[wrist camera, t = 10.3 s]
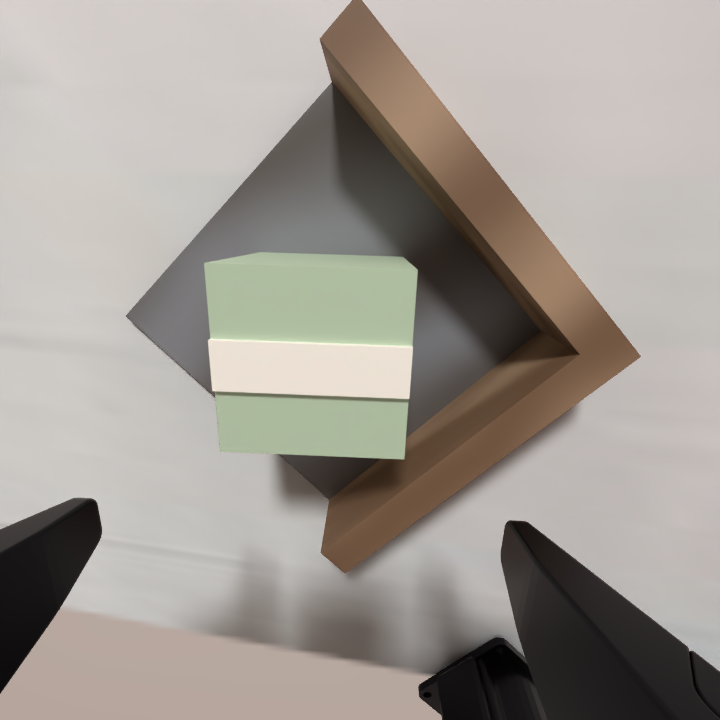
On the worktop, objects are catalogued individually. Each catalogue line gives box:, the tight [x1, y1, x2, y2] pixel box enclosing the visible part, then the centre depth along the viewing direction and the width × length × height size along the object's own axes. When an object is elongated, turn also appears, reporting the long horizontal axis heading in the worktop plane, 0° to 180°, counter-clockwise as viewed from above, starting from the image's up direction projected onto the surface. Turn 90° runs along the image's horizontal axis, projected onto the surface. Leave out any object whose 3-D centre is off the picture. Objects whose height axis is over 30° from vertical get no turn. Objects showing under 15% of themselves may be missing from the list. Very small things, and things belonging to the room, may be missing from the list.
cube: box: [204, 252, 418, 459], centre depth 15 cm, size 6×6×6 cm
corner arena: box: [126, 0, 641, 573], centre depth 16 cm, size 14×14×4 cm
